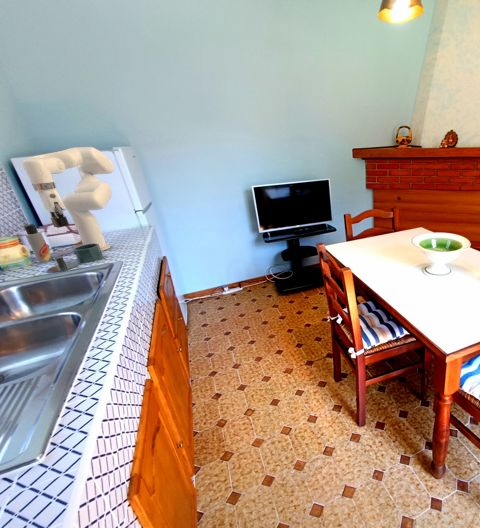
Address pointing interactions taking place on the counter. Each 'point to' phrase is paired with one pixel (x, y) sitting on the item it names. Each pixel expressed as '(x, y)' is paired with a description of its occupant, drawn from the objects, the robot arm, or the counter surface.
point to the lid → (61, 265)
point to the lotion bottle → (38, 244)
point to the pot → (88, 253)
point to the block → (57, 222)
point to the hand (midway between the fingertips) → (61, 224)
